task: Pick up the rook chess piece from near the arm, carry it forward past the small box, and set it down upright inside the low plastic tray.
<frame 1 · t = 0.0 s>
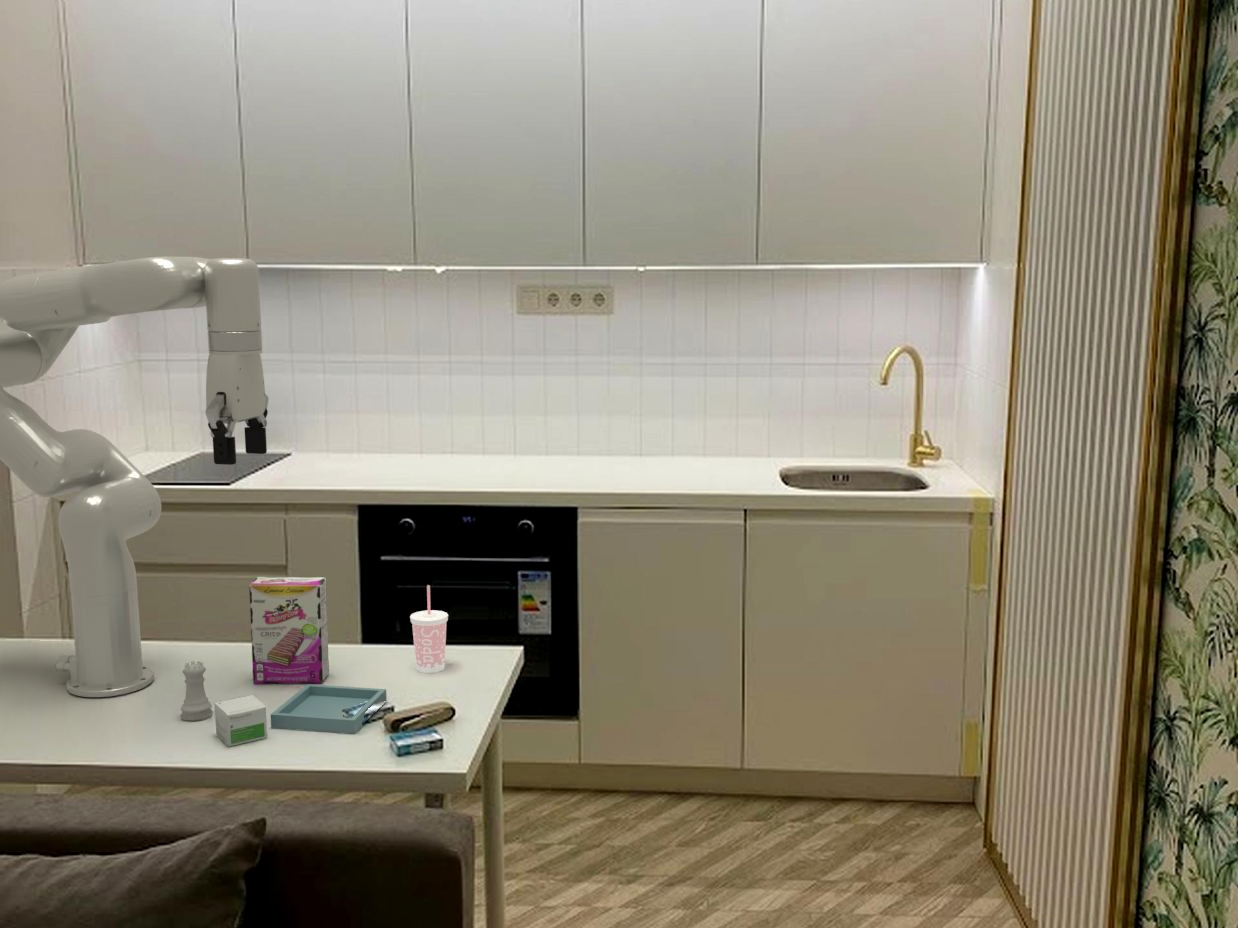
hand: (241, 458, 178), 37 cm above the table, tool pointing down, fingers open, 9 cm apart
tray: (330, 714, 176), on the table
beverage cup: (430, 669, 196), on the table
small box: (242, 738, 168), on the table
rook chess piece: (196, 717, 175), on the table
candy bar box: (291, 680, 191), on the table
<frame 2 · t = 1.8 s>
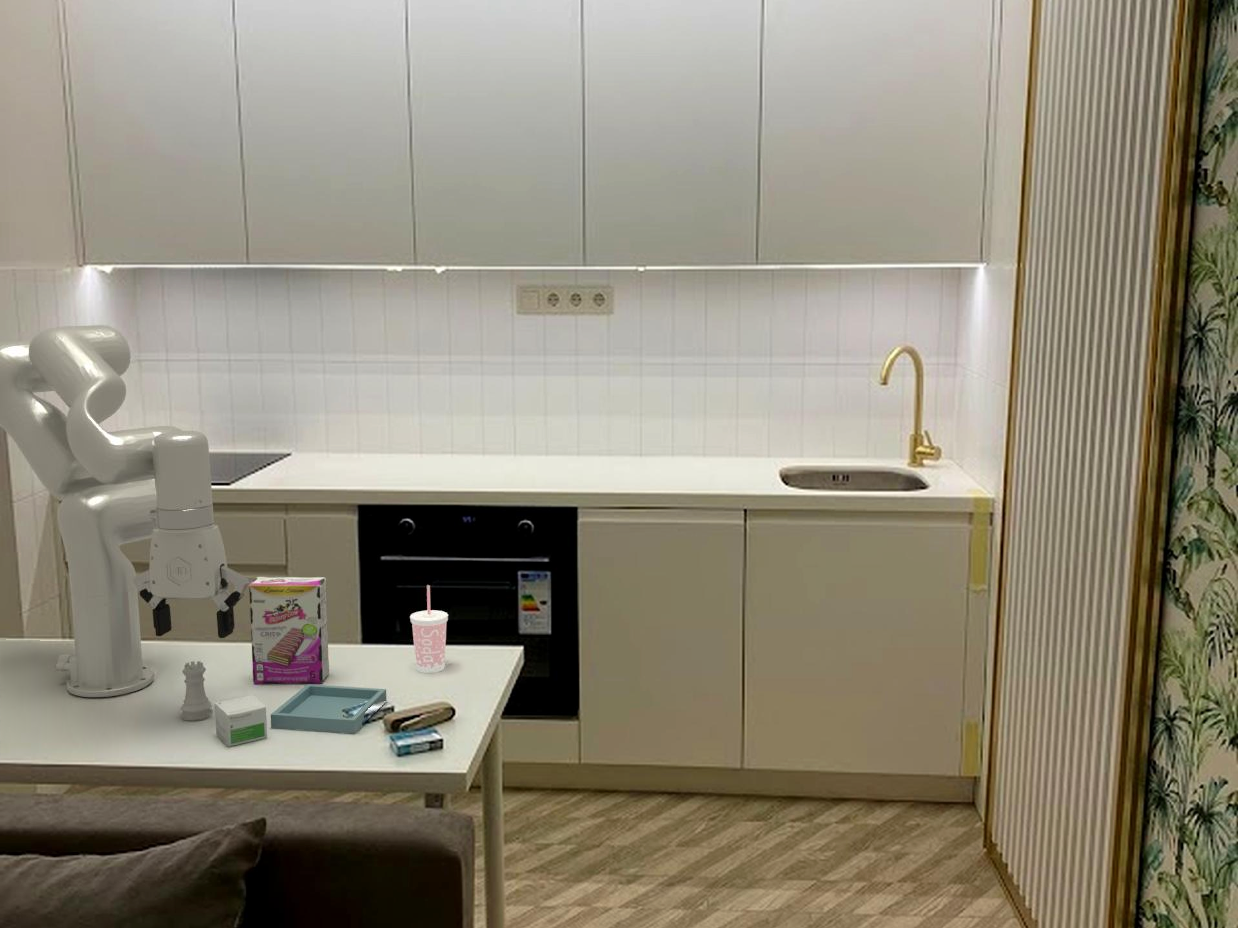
hand: (194, 634, 173), 13 cm above the table, tool pointing down, fingers open, 9 cm apart
nothing on the table moved.
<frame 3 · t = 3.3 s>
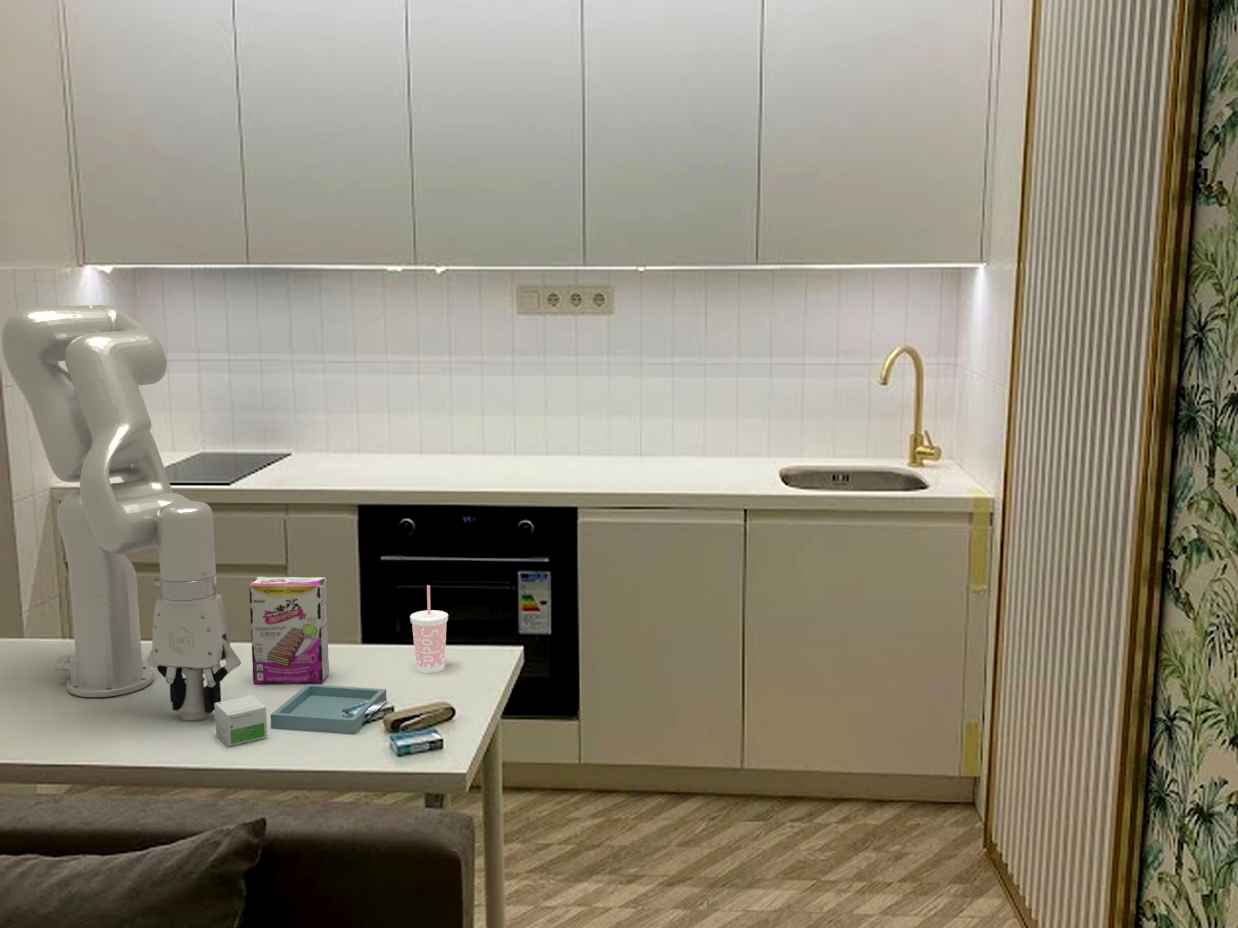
hand: (196, 707, 175), 1 cm above the table, tool pointing down, fingers closed on rook chess piece, 4 cm apart
rook chess piece: (196, 717, 175), on the table, touching gripper
everything else where it was.
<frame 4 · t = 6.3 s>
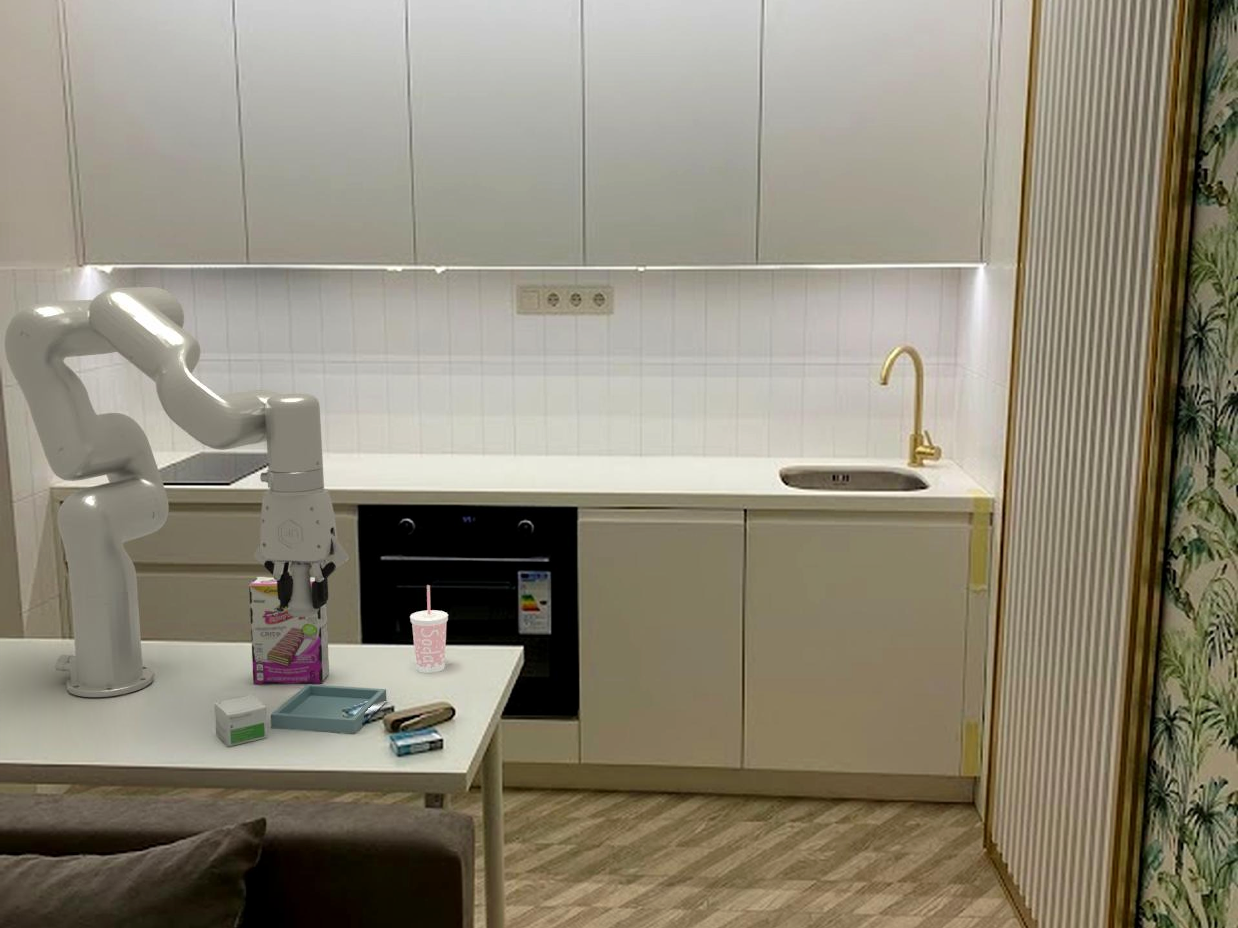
hand: (303, 604, 173), 17 cm above the table, tool pointing down, fingers closed on rook chess piece, 4 cm apart
rook chess piece: (303, 614, 173), point 15 cm above the table, touching gripper
everything else where it was.
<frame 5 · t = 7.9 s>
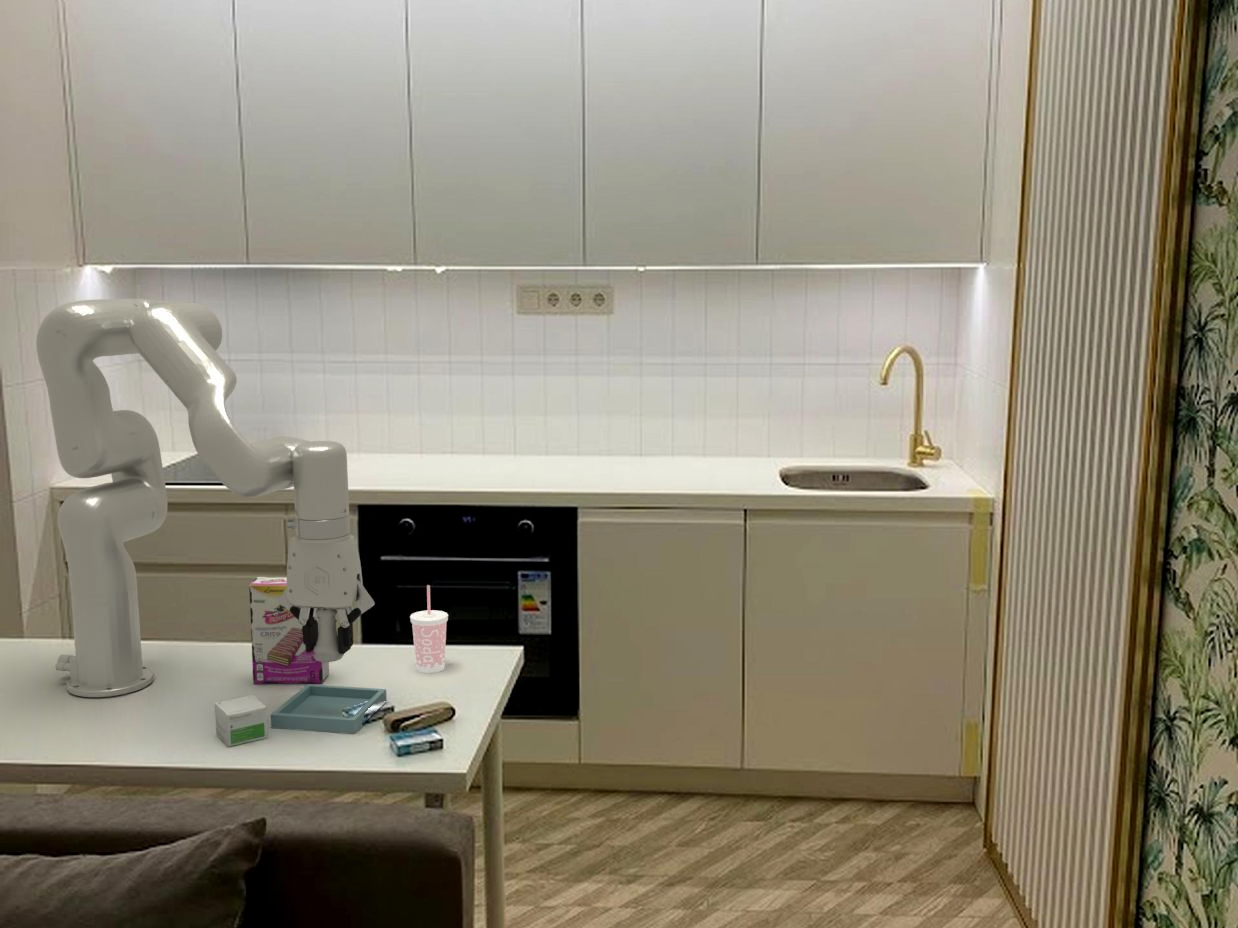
hand: (328, 648, 174), 10 cm above the table, tool pointing down, fingers closed on rook chess piece, 4 cm apart
rook chess piece: (328, 659, 174), point 9 cm above the table, touching gripper
everything else where it was.
when the fingers open (3 cm above the table, at t = 9.4 s): rook chess piece drops 2 cm, resting on tray.
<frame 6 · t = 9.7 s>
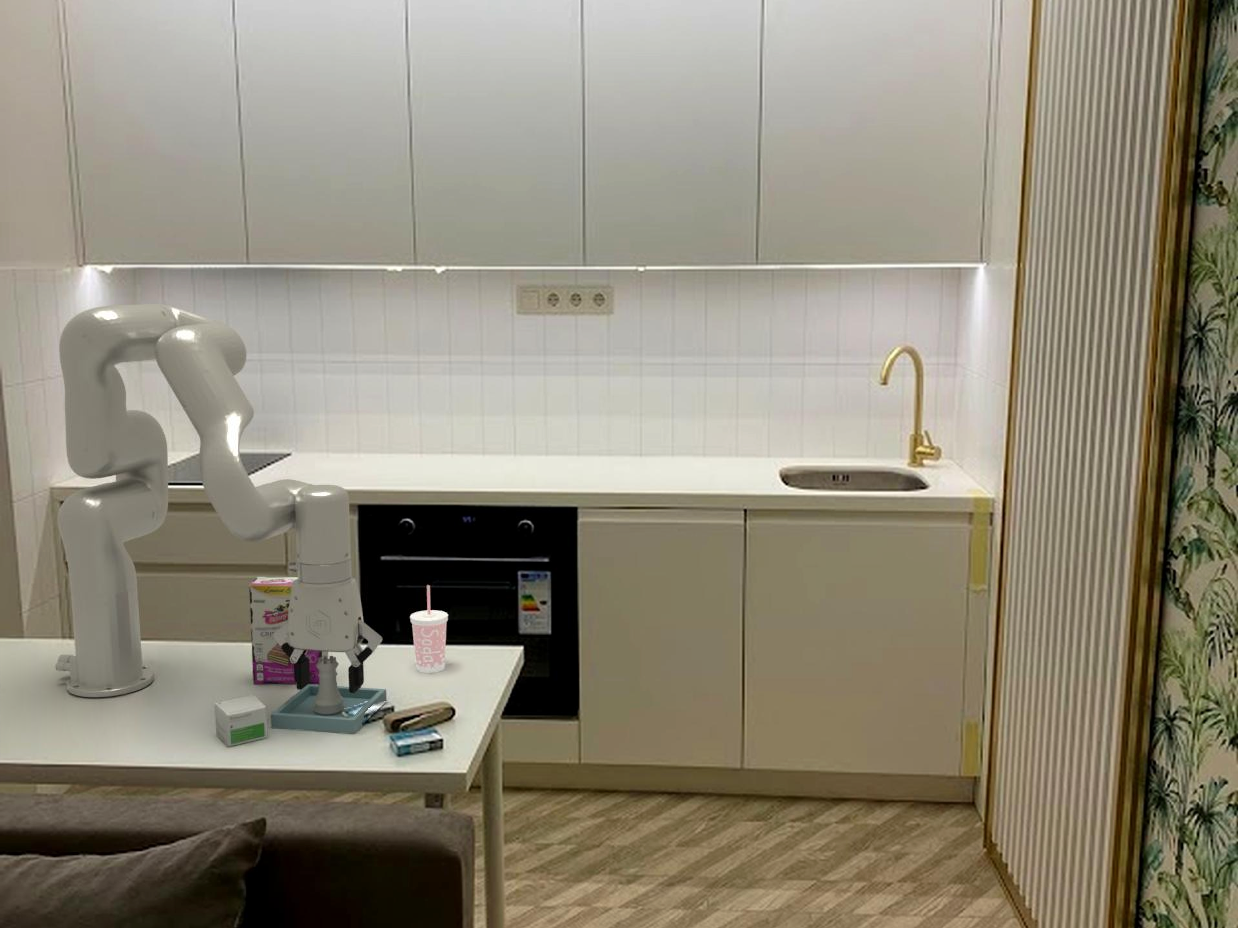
hand: (329, 687, 175), 4 cm above the table, tool pointing down, fingers open, 7 cm apart
rook chess piece: (329, 711, 176), resting on tray
everything else where it was.
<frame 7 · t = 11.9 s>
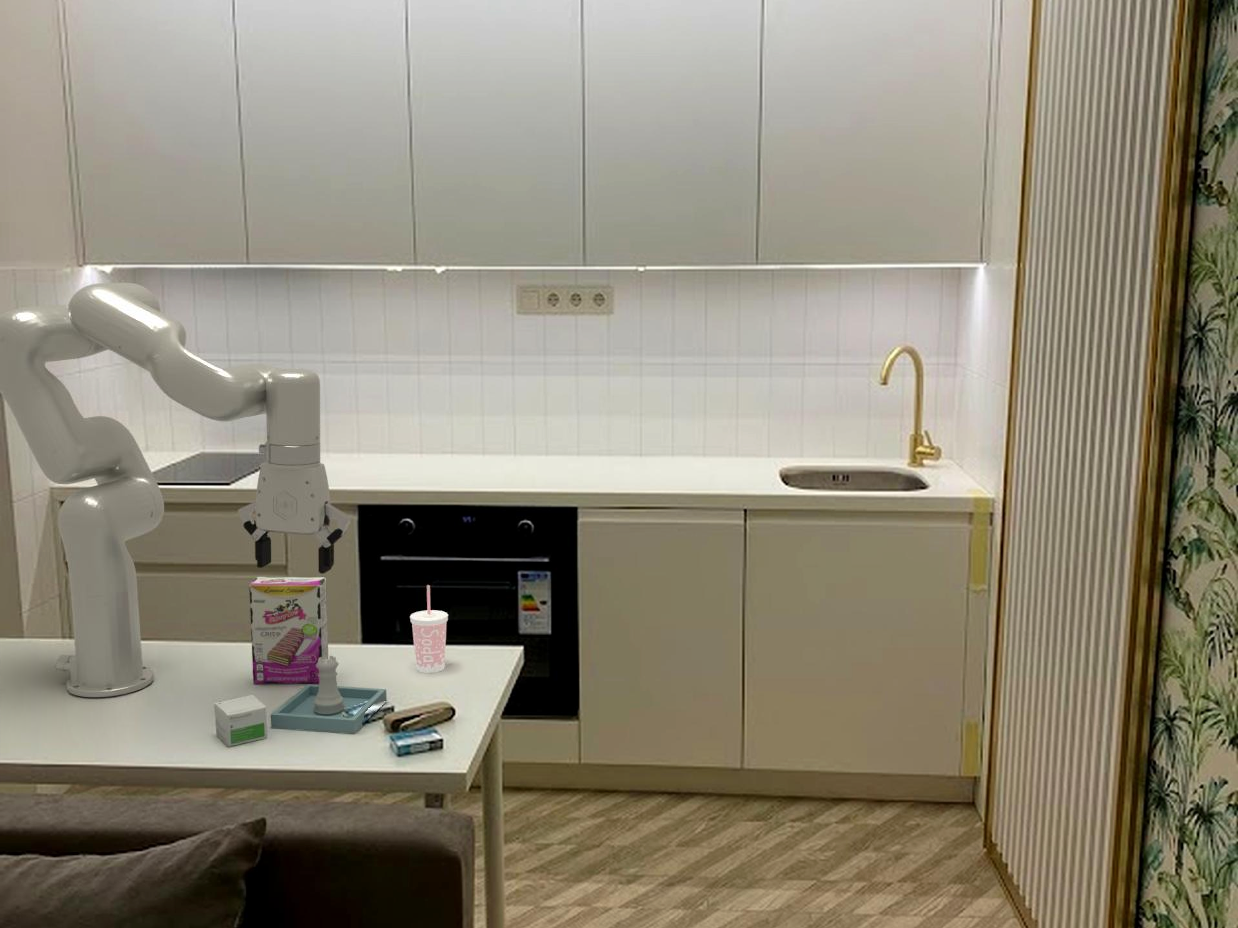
hand: (294, 568, 177), 21 cm above the table, tool pointing down, fingers open, 9 cm apart
nothing on the table moved.
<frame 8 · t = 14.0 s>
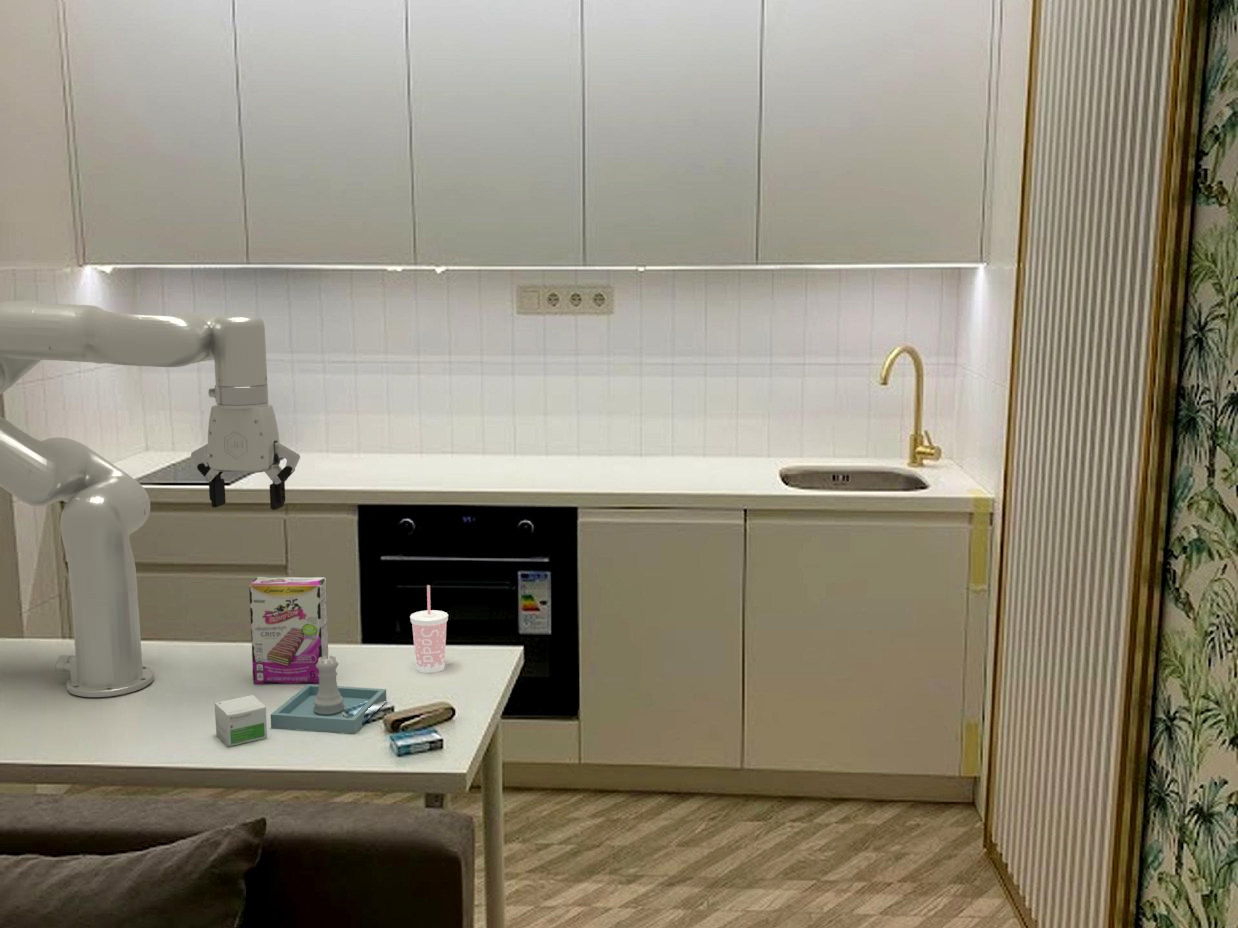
hand: (247, 506, 185), 28 cm above the table, tool pointing down, fingers open, 9 cm apart
nothing on the table moved.
at the end: rook chess piece inside the target area on the tray (0.2 cm from its centre), point 0.4 cm above the tray's base; rook chess piece tilted 0°; the gripper is holding nothing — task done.
